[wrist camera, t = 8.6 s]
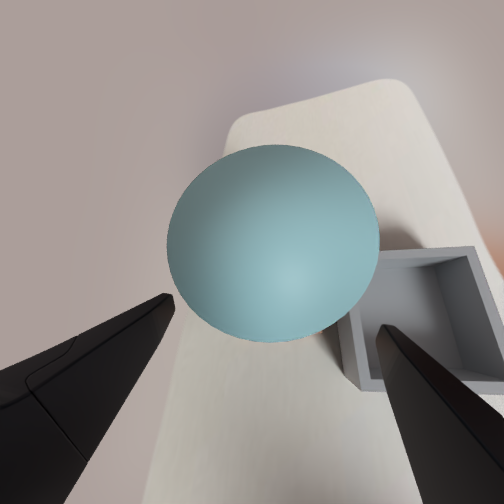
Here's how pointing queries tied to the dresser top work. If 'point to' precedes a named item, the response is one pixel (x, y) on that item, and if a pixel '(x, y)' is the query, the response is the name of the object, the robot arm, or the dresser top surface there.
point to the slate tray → (428, 317)
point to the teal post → (273, 243)
